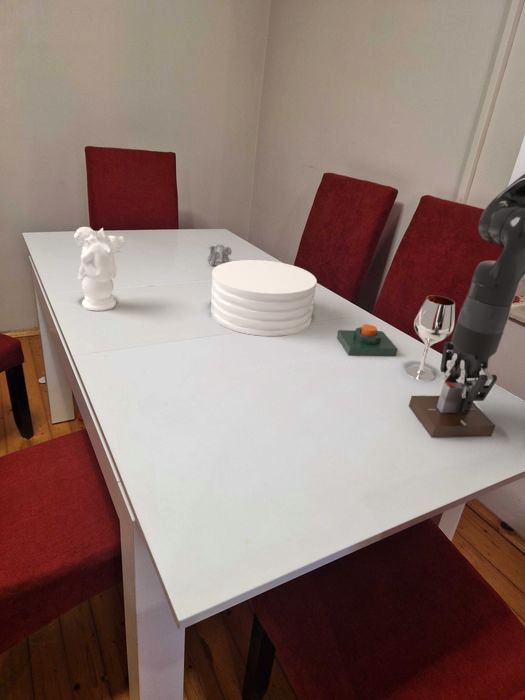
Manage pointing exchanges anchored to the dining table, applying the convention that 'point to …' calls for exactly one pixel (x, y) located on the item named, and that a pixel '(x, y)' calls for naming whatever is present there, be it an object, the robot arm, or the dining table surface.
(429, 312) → the wineglass
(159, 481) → the dining table surface
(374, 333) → the button
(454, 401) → the tap knob
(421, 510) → the dining table surface
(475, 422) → the panel
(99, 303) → the cherub figurine
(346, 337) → the button box
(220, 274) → the plate stack
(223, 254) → the elephant statuette
